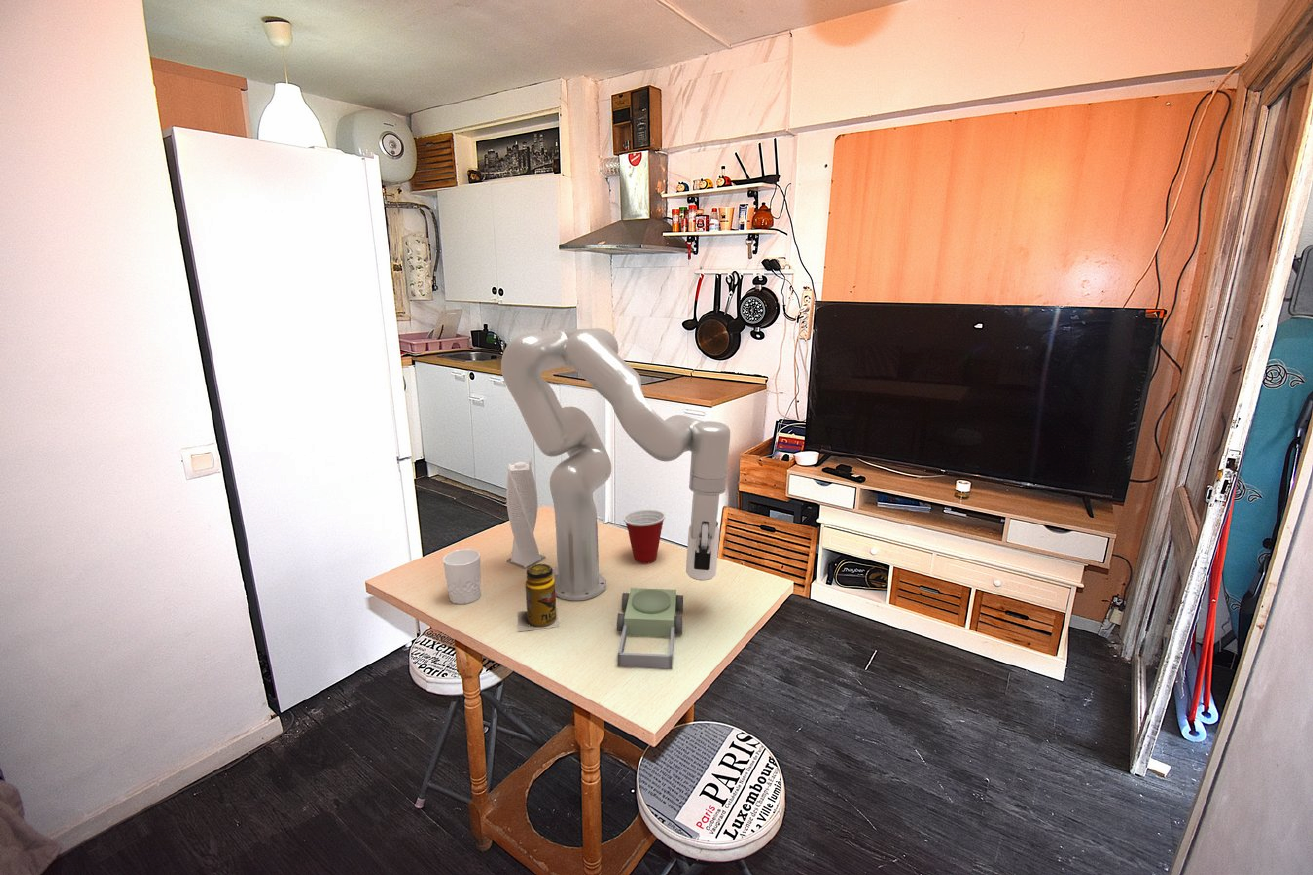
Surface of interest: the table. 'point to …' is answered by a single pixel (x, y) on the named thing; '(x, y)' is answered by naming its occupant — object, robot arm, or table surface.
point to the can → (691, 550)
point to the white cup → (463, 575)
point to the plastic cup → (644, 533)
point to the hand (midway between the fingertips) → (701, 560)
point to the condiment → (539, 600)
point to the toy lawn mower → (649, 624)
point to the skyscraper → (522, 514)
